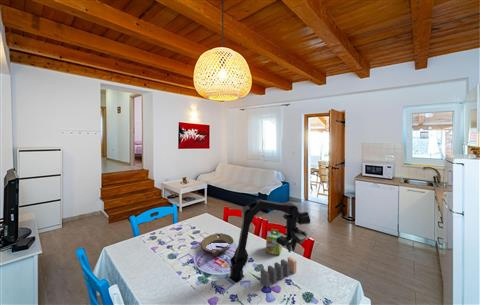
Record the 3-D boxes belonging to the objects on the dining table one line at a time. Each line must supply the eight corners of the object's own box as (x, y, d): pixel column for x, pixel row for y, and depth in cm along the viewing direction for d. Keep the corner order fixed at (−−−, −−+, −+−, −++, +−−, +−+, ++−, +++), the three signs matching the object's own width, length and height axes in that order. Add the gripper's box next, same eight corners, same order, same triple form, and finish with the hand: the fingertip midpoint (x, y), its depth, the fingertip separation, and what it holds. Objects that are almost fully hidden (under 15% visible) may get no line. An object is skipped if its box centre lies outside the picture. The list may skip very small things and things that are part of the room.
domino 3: (280, 280, 112) (280, 267, 111) (274, 275, 116) (274, 263, 115) (283, 278, 113) (283, 266, 112) (276, 273, 117) (276, 262, 116)
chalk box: (265, 253, 138) (265, 231, 137) (269, 246, 146) (269, 226, 145) (279, 256, 134) (279, 234, 133) (282, 249, 143) (282, 228, 141)
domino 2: (274, 283, 109) (273, 271, 108) (267, 278, 113) (267, 266, 113) (276, 282, 110) (276, 270, 109) (270, 277, 114) (270, 265, 114)
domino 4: (287, 276, 114) (287, 264, 114) (280, 271, 119) (280, 260, 118) (289, 275, 115) (289, 263, 115) (283, 270, 120) (283, 259, 119)
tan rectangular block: (294, 273, 117) (294, 261, 116) (287, 269, 121) (287, 257, 120) (296, 272, 118) (296, 260, 117) (289, 268, 122) (289, 256, 121)
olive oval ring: (238, 242, 152) (238, 232, 152) (219, 266, 125) (219, 254, 124) (212, 237, 161) (211, 228, 160) (188, 258, 133) (188, 247, 132)
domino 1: (266, 287, 106) (266, 274, 106) (260, 282, 110) (260, 269, 110) (269, 286, 107) (269, 273, 107) (263, 281, 111) (263, 268, 111)
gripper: (290, 235, 106) (290, 264, 107) (313, 226, 116) (313, 252, 117) (275, 227, 115) (275, 254, 116) (298, 219, 125) (298, 244, 127)
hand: (291, 251), depth 119 cm, fingers open, 3 cm apart
